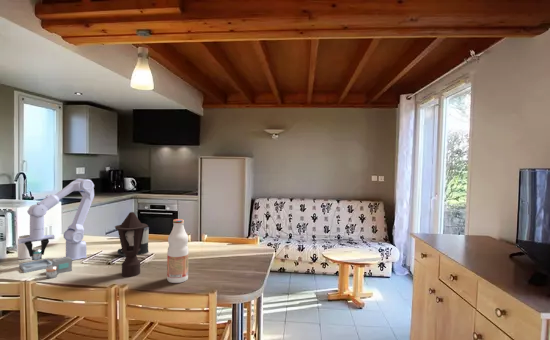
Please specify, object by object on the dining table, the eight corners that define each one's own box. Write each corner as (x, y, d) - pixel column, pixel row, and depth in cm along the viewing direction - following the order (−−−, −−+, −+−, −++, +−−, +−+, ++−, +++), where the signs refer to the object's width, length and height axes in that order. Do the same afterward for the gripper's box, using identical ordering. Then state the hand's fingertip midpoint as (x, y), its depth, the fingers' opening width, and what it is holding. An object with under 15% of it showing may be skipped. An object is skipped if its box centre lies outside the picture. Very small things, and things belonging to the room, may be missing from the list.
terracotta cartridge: (55, 274, 148) (55, 264, 148) (58, 277, 146) (58, 266, 146) (45, 277, 145) (45, 266, 145) (47, 279, 143) (47, 268, 143)
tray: (48, 261, 167) (48, 258, 167) (54, 266, 159) (54, 264, 159) (19, 266, 158) (19, 263, 158) (24, 272, 150) (24, 269, 150)
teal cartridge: (40, 257, 161) (41, 247, 161) (42, 259, 158) (42, 249, 158) (30, 258, 158) (31, 249, 158) (32, 260, 155) (32, 250, 155)
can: (15, 260, 168) (15, 237, 167) (21, 256, 174) (21, 235, 174) (29, 259, 169) (29, 237, 169) (35, 255, 176) (35, 234, 175)
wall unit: (68, 268, 158) (68, 255, 158) (72, 270, 154) (72, 258, 154) (51, 271, 153) (52, 258, 152) (55, 274, 149) (55, 261, 149)
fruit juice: (173, 285, 140) (174, 222, 139) (163, 279, 146) (164, 219, 145) (192, 279, 147) (193, 220, 146) (181, 274, 153) (182, 217, 152)
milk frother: (151, 250, 191) (152, 226, 190) (137, 258, 175) (137, 232, 174) (129, 249, 192) (130, 225, 192) (113, 257, 177) (113, 231, 176)
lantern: (147, 267, 162) (148, 209, 161) (147, 277, 148) (148, 214, 147) (115, 270, 156) (116, 210, 155) (112, 281, 143) (112, 215, 142)
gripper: (52, 225, 166) (51, 250, 166) (16, 229, 155) (16, 256, 155) (55, 227, 161) (55, 253, 162) (19, 231, 150) (19, 259, 151)
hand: (36, 255), depth 158 cm, fingers closed on teal cartridge, 4 cm apart
